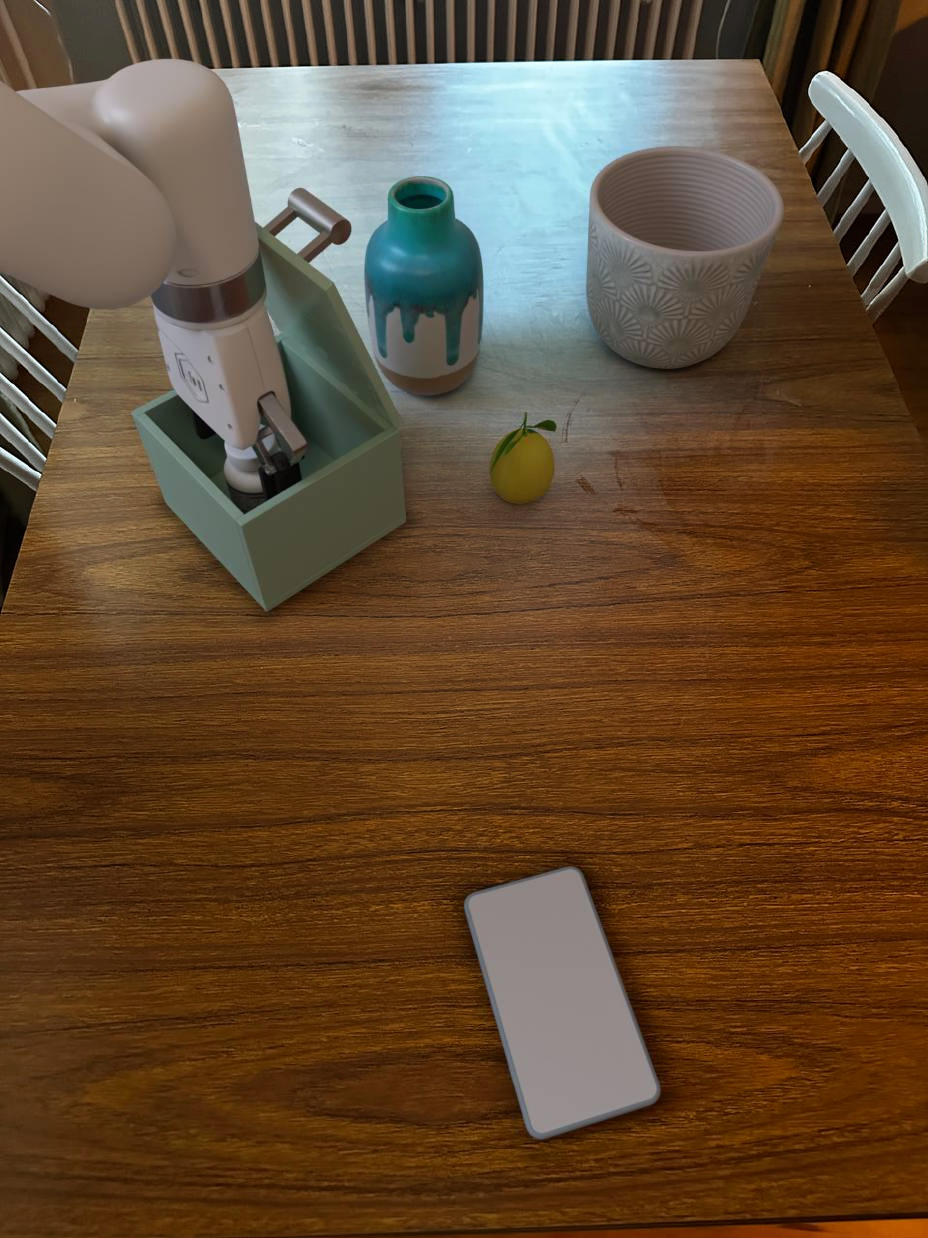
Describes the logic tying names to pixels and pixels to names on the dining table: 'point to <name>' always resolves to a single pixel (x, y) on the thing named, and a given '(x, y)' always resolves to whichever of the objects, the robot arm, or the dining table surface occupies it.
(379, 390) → the box lid
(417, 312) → the vase
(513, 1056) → the smartphone
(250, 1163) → the dining table surface
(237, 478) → the pill bottle
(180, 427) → the green box
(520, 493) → the lemon
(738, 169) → the planter
